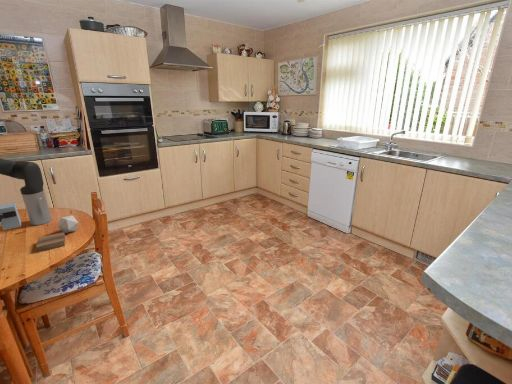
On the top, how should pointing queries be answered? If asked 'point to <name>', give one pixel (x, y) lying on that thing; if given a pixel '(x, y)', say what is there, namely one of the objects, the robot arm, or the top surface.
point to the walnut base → (50, 242)
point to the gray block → (12, 221)
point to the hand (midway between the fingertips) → (15, 211)
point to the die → (68, 224)
